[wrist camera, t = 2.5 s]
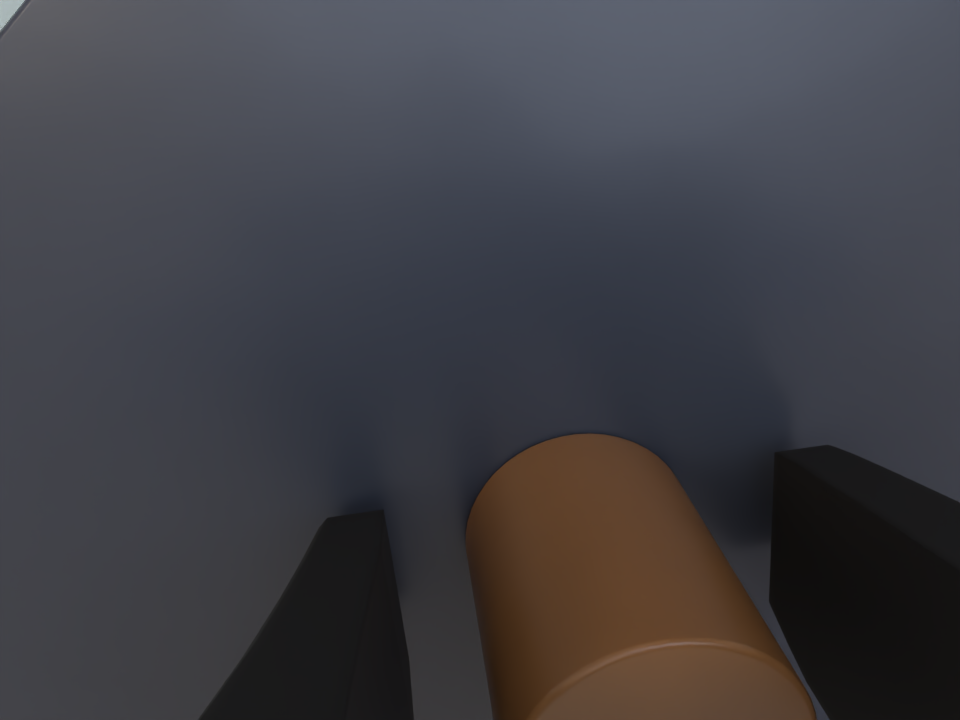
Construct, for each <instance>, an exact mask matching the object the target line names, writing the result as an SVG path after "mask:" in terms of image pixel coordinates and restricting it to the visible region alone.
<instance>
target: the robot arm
mask: <svg viewBox="0 0 960 720" xmlns="http://www.w3.org/2000/svg"><path fill="white" fill-rule="evenodd" d="M769 603H770V606H771V608H772V610H773V612H774V614H775V617H776V619H777V621H778V623H779V626H780V628H781V630H782V632H783V634H784V637H785V639H786V641H787V643H788V645H789V648H790V650H791V652H792V654H793V656H794V658H795V660H796V662H797V664H798V666H799V668H800V670H801V672H802V674H803V676H804V678H805V680H806V682H807V684H808V686H809V687H810V689H811V690H812V692H813V694H814V695H815V697H816V699H817V700H818V702H819V703H820V705H821V707H822V708H823V710H824V711H825V713H826V715H827V716H828V718H829V719H830V720H960V502H958V501H956V500H954V499H952V498H949V497H947V496H945V495H943V494H941V493H939V492H936V491H934V490H932V489H930V488H928V487H926V486H923V485H921V484H919V483H917V482H915V481H913V480H911V479H908V478H906V477H904V476H902V475H900V474H898V473H895V472H893V471H891V470H889V469H887V468H884V467H882V466H880V465H878V464H875V463H873V462H871V461H869V460H866V459H864V458H862V457H859V456H857V455H855V454H852V453H850V452H847V451H845V450H842V449H839V448H837V447H834V446H831V445H821V446H815V447H808V448H801V449H794V450H787V451H780V452H775V455H774V481H773V507H772V533H771V559H770V585H769ZM198 720H414V714H413V701H412V688H411V676H410V663H409V655H408V649H407V643H406V637H405V631H404V625H403V620H402V614H401V608H400V602H399V596H398V590H397V584H396V579H395V573H394V567H393V561H392V555H391V549H390V543H389V538H388V532H387V526H386V520H385V514H384V509H383V510H376V511H369V512H363V513H356V514H349V515H342V516H335V517H328V518H327V519H326V520H325V521H324V522H323V523H322V525H321V526H320V527H319V528H318V530H317V532H316V534H315V536H314V538H313V540H312V542H311V544H310V546H309V547H308V549H307V551H306V553H305V555H304V557H303V559H302V560H301V562H300V564H299V566H298V568H297V569H296V571H295V573H294V575H293V576H292V578H291V580H290V582H289V583H288V585H287V587H286V588H285V590H284V592H283V594H282V595H281V597H280V599H279V600H278V602H277V604H276V605H275V607H274V608H273V610H272V611H271V613H270V615H269V616H268V618H267V619H266V621H265V623H264V624H263V626H262V627H261V629H260V630H259V632H258V634H257V635H256V637H255V638H254V640H253V641H252V643H251V645H250V646H249V648H248V649H247V651H246V652H245V654H244V655H243V657H242V658H241V660H240V661H239V663H238V664H237V666H236V667H235V668H234V670H233V671H232V673H231V674H230V675H229V677H228V678H227V680H226V681H225V682H224V684H223V685H222V687H221V688H220V689H219V691H218V692H217V693H216V695H215V696H214V698H213V699H212V700H211V702H210V703H209V705H208V706H207V707H206V709H205V710H204V712H203V713H202V714H201V716H200V717H199V719H198Z"/></svg>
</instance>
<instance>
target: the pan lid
mask: <svg viewBox="0 0 960 720" xmlns="http://www.w3.org/2000/svg"><path fill="white" fill-rule="evenodd" d="M821 445H831V446H834V447H837V448H839V449H842V450H845V451H847V452H850V453H852V454H855V455H857V456H859V457H862V458H864V459H866V460H869V461H871V462H873V463H875V464H878V465H880V466H882V467H884V468H887V469H889V470H891V471H893V472H895V473H898V474H900V475H902V476H904V477H906V478H908V479H911V480H913V481H915V482H917V483H919V484H921V485H923V486H926V487H928V488H930V489H932V490H934V491H936V492H939V493H941V494H943V495H945V496H947V497H949V498H952V499H954V500H956V501H958V502H960V0H25V1H24V2H23V3H22V5H21V6H20V7H19V9H18V10H17V11H16V12H15V14H14V15H13V16H12V17H11V19H10V20H9V21H8V22H7V24H6V25H5V26H4V27H3V29H2V30H1V31H0V720H198V719H199V717H200V716H201V714H202V713H203V712H204V710H205V709H206V707H207V706H208V705H209V703H210V702H211V700H212V699H213V698H214V696H215V695H216V693H217V692H218V691H219V689H220V688H221V687H222V685H223V684H224V682H225V681H226V680H227V678H228V677H229V675H230V674H231V673H232V671H233V670H234V668H235V667H236V666H237V664H238V663H239V661H240V660H241V658H242V657H243V655H244V654H245V652H246V651H247V649H248V648H249V646H250V645H251V643H252V641H253V640H254V638H255V637H256V635H257V634H258V632H259V630H260V629H261V627H262V626H263V624H264V623H265V621H266V619H267V618H268V616H269V615H270V613H271V611H272V610H273V608H274V607H275V605H276V604H277V602H278V600H279V599H280V597H281V595H282V594H283V592H284V590H285V588H286V587H287V585H288V583H289V582H290V580H291V578H292V576H293V575H294V573H295V571H296V569H297V568H298V566H299V564H300V562H301V560H302V559H303V557H304V555H305V553H306V551H307V549H308V547H309V546H310V544H311V542H312V540H313V538H314V536H315V534H316V532H317V530H318V528H319V527H320V526H321V525H322V523H323V522H324V521H325V520H326V519H327V518H328V517H335V516H342V515H349V514H356V513H363V512H369V511H376V510H383V509H384V514H385V520H386V526H387V532H388V538H389V543H390V549H391V555H392V561H393V567H394V573H395V579H396V584H397V590H398V596H399V602H400V608H401V614H402V620H403V625H404V631H405V637H406V643H407V649H408V655H409V663H410V676H411V688H412V701H413V714H414V720H830V719H829V718H828V716H827V715H826V713H825V711H824V710H823V708H822V707H821V705H820V703H819V702H818V700H817V699H816V697H815V695H814V694H813V692H812V690H811V689H810V687H809V686H808V684H807V682H806V680H805V678H804V676H803V674H802V672H801V670H800V668H799V666H798V664H797V662H796V660H795V658H794V656H793V654H792V652H791V650H790V648H789V645H788V643H787V641H786V639H785V637H784V634H783V632H782V630H781V628H780V626H779V623H778V621H777V619H776V617H775V614H774V612H773V610H772V608H771V606H770V603H769V585H770V559H771V533H772V507H773V481H774V455H775V452H780V451H787V450H794V449H801V448H808V447H815V446H821Z"/></svg>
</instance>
